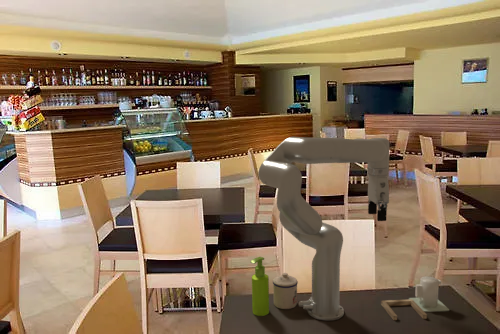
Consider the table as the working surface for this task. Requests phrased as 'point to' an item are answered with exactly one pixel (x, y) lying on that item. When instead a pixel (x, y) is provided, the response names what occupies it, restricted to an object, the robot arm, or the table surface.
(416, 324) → the table surface
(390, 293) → the table surface
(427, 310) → the sage tile
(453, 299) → the table surface
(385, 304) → the oak stall
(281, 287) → the teacup with lid
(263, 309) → the soap dispenser
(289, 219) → the robot arm
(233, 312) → the table surface
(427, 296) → the labeled white canister
